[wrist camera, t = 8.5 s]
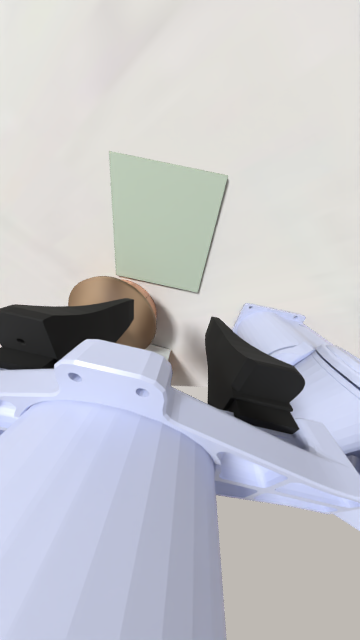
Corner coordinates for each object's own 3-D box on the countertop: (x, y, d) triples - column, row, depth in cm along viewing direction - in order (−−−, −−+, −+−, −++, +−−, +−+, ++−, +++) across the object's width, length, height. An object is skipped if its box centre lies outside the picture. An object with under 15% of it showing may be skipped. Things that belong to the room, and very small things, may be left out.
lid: (162, 286, 18) (148, 301, 13) (154, 355, 24) (142, 383, 19) (69, 266, 18) (19, 272, 13) (85, 339, 24) (56, 363, 19)
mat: (227, 177, 14) (228, 175, 14) (197, 291, 21) (197, 292, 20) (111, 153, 14) (109, 151, 14) (117, 274, 21) (116, 274, 20)
